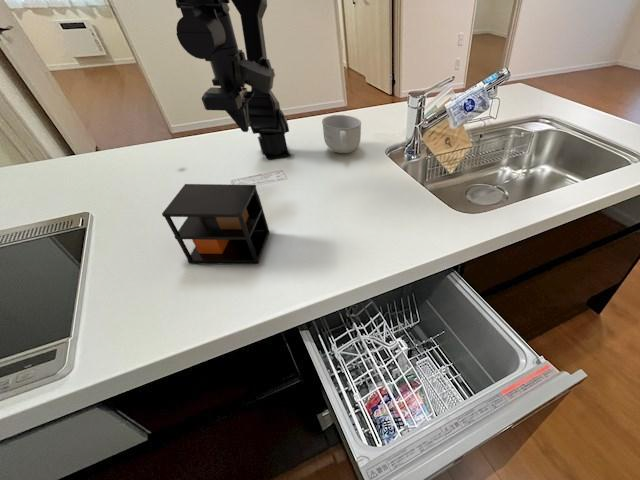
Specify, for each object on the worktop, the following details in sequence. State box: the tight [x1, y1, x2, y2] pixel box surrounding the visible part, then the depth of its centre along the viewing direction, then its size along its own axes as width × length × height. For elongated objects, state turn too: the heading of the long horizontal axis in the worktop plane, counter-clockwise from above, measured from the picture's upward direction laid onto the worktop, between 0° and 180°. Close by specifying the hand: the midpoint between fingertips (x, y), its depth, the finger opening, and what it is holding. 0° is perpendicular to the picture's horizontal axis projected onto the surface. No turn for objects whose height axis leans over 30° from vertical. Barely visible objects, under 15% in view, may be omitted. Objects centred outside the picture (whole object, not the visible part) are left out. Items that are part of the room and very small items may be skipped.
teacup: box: [321, 114, 362, 154], centre depth 98 cm, size 14×11×8 cm
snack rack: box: [161, 183, 271, 265], centre depth 65 cm, size 10×13×11 cm
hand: (245, 131), depth 77 cm, fingers closed
